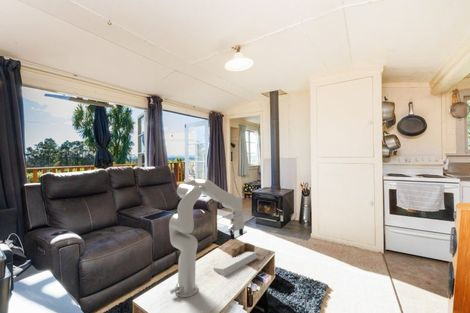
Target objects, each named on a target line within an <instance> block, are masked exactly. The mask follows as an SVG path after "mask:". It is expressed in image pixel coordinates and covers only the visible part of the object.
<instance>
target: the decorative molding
mask: <svg viewBox="0 0 470 313" xmlns="http://www.w3.org/2000/svg"><path fill="white" fill-rule="evenodd" d="M257 259H258V258H257V253H256V251H254V252H248V251H245V252H243V253H241V254H239V255H238V256H236V257H234V258H233V257H232V258H230V259H229V260H226V261H224V262H222V263H220V264H218V265H216V266H214V267H213V271H214V272H216V273H218V274H219V275H220V276H222V277H224V278H225V277H226V276H228V275H230V274H232V273H233V271H234V272H235V271H237V270H239V269H240V268H243V267H244V266H247V264H249V263H251V262H253V261H254V260H257Z"/></svg>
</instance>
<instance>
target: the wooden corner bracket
mask: <svg viewBox="0 0 470 313" xmlns="http://www.w3.org/2000/svg"><path fill="white" fill-rule="evenodd" d="M244 252H255V245H254V244H251V243H249V242H244V243H242V244H239V245H237V246H235V247H233V248H232V249H231V257H232V258H233V257H235V256H238V255H240V254H242V253H244Z"/></svg>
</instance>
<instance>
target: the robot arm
mask: <svg viewBox="0 0 470 313" xmlns="http://www.w3.org/2000/svg"><path fill="white" fill-rule="evenodd" d="M176 194H177V196H178V197H179V198H181V200H180V201H179V203H178V205H177V207H176V208H177V210H176V211H177V213H175V214H173V215H172V216H171V217H170V219H169V221H168V222H169V223H168V230H169V240H170V243H171V245H172V247H173V248H176V250H177V249H178V250H179V251H180V255H179V257H178V263H177V264H178V265H177V266H178V269H177V270H178V272H177V273H178V274H177V276H178V277H177V283H176V286H175V287H174V288H172V289H170V290H169V292H170V294H171V295H172V294H174V295H176V296H177V297H179V298H189V297H192V296H194V295H196V294H197V292H198V290H199V289H198V288H199V287H198V285H197V283H196V255H197V249H198V245H199V242H198V239H197V238H196V237H195V236H194V235H191V233H193V231H194V226H195V222H194V207H195V206H194V205H195V204H196V203H197V201H198V200H199V199H200V197H201V195H202V194H204V195H206V196H207V197H209V198H210V199H211V200H214V201H215V202H218V203H221V205H222V207H224V208H225V209H231V216H230V225H229V227H228V228H227V230H228V233H230V235H229V238H230V239H231V240H234V239H235V232H236V231H238V234H239V235H240V236H243V235H244V227H245V224H246V223H245V221H244V220H245V219H244V215H243V196H241V195H234V194H232V193H230V192H228V191H226V190H224V189H222V188H220V186H218V185H217V184H215V183H214V182H212V181H211V180H209V179H206V178H205V179H204V178H196V179H192V180H189V181H186V182H183V183H180V184H178V186H177V188H176Z"/></svg>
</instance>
